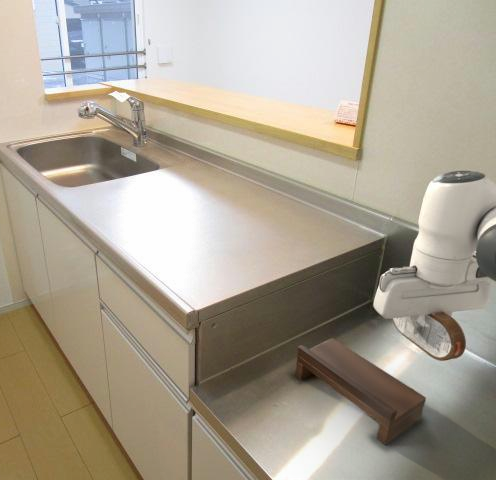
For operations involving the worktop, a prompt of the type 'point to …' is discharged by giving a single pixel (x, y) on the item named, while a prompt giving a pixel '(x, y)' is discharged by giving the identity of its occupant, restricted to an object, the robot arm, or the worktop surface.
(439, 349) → the tin
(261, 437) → the worktop surface
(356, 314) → the worktop surface
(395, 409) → the shelf
